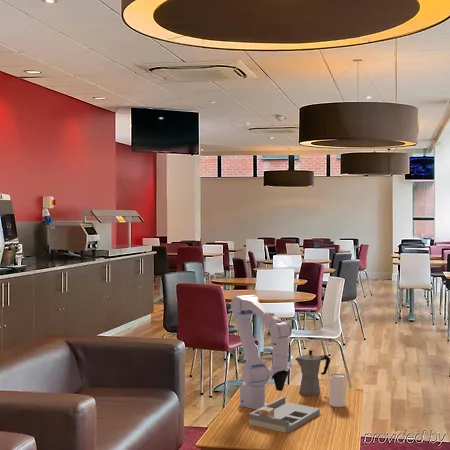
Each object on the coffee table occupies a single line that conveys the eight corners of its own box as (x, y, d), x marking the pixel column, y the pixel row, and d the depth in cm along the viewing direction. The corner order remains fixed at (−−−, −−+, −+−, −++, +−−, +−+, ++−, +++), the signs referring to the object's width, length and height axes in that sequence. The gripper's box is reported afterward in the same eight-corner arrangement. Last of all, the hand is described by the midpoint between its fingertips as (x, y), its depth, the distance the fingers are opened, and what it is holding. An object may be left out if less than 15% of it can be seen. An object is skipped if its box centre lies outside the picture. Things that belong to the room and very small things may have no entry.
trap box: (248, 424, 270) (249, 413, 269) (282, 406, 291) (283, 396, 291) (287, 433, 261) (288, 422, 261) (319, 413, 283) (320, 403, 283)
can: (345, 408, 290) (346, 378, 289) (328, 407, 291) (329, 377, 291) (346, 403, 296) (346, 373, 296) (329, 402, 298) (330, 372, 297)
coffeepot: (298, 396, 305) (299, 353, 304) (291, 390, 314) (292, 348, 313) (333, 394, 308) (334, 352, 307) (325, 388, 317) (326, 346, 316)
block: (259, 420, 268) (259, 409, 268) (264, 417, 272) (264, 406, 271) (268, 422, 266) (268, 411, 266) (274, 419, 270) (274, 408, 269)
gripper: (280, 360, 268) (279, 396, 269) (298, 352, 280) (298, 387, 281) (263, 357, 272) (262, 393, 273) (282, 349, 284) (281, 384, 285)
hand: (279, 390), depth 277 cm, fingers closed
